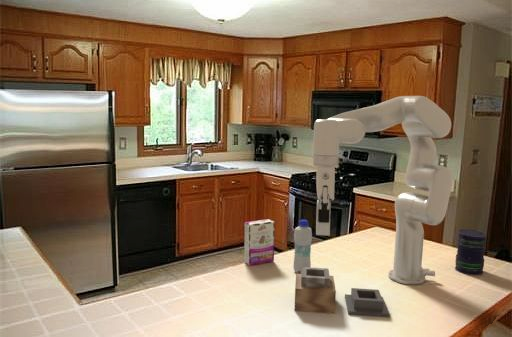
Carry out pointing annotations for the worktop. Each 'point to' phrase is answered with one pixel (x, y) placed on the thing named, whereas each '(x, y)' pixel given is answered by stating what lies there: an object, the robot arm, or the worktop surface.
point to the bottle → (302, 246)
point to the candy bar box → (259, 242)
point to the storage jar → (470, 252)
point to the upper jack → (315, 291)
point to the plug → (323, 227)
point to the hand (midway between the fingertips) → (323, 219)
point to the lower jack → (366, 303)
